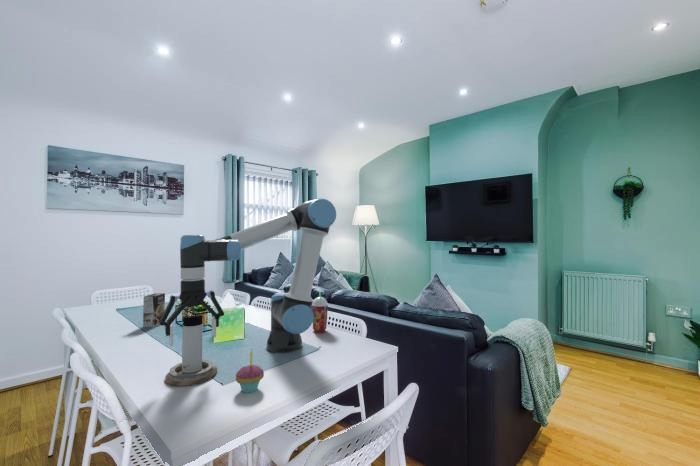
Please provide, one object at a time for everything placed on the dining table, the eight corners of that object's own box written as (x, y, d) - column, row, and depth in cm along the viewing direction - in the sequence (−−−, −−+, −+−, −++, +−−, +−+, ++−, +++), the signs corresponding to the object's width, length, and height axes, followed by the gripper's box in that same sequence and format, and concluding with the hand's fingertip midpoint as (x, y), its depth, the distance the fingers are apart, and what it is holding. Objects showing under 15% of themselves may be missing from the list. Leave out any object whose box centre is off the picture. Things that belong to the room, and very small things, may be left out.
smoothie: (331, 330, 163) (331, 291, 163) (321, 334, 156) (321, 293, 156) (318, 327, 168) (318, 289, 168) (307, 331, 160) (308, 291, 160)
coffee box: (154, 327, 165) (155, 296, 165) (142, 327, 165) (142, 296, 165) (165, 322, 174) (165, 293, 174) (153, 322, 175) (153, 292, 174)
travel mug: (182, 378, 106) (184, 317, 106) (180, 370, 112) (181, 313, 112) (203, 373, 110) (204, 315, 110) (200, 367, 115) (201, 311, 115)
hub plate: (225, 367, 117) (225, 359, 117) (199, 388, 102) (199, 379, 102) (185, 364, 120) (185, 357, 120) (153, 384, 104) (153, 376, 104)
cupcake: (239, 383, 105) (240, 346, 105) (265, 382, 106) (266, 346, 106) (232, 396, 97) (232, 356, 97) (261, 395, 98) (261, 356, 97)
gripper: (226, 274, 121) (227, 330, 121) (149, 281, 106) (149, 345, 106) (232, 277, 115) (233, 335, 115) (151, 284, 100) (152, 352, 100)
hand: (193, 340), depth 111 cm, fingers open, 13 cm apart
